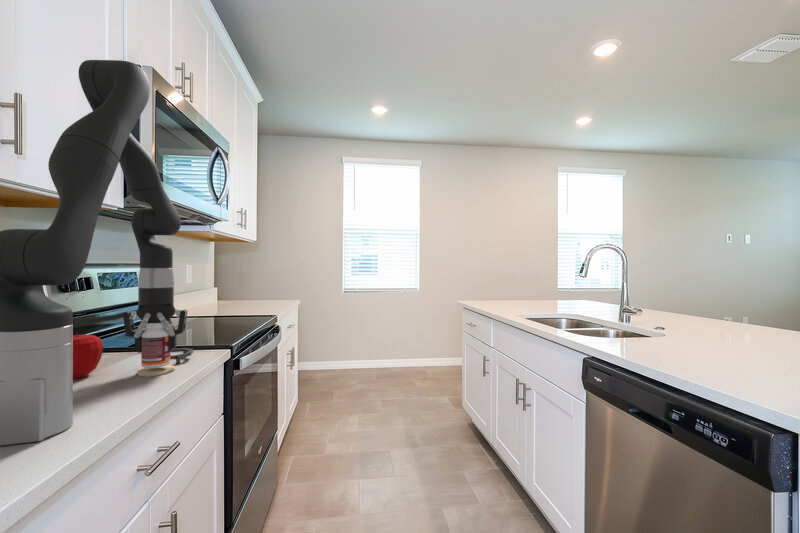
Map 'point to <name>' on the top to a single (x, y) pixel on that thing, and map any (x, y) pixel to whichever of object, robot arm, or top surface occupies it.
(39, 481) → the top surface
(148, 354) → the pill bottle
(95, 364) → the apple
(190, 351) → the ring stand
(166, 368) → the cork coaster
